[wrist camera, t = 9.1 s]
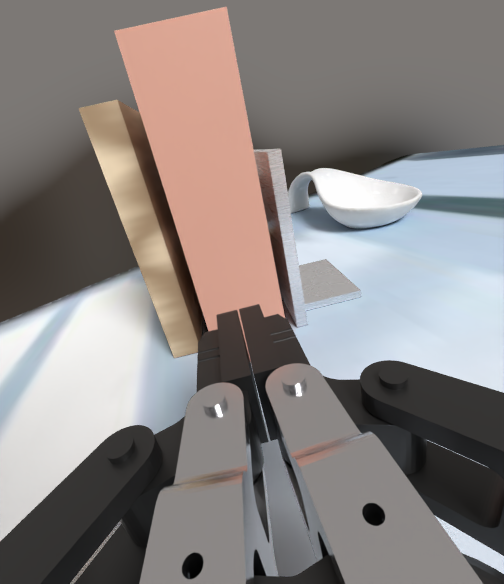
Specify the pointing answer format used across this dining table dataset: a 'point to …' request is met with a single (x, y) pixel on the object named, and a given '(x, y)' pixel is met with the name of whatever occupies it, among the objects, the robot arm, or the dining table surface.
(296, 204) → the spoon rest
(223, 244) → the book
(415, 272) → the dining table surface
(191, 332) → the board
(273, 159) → the bookend
